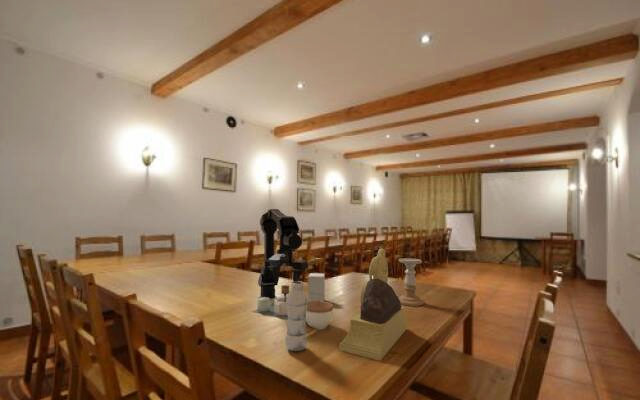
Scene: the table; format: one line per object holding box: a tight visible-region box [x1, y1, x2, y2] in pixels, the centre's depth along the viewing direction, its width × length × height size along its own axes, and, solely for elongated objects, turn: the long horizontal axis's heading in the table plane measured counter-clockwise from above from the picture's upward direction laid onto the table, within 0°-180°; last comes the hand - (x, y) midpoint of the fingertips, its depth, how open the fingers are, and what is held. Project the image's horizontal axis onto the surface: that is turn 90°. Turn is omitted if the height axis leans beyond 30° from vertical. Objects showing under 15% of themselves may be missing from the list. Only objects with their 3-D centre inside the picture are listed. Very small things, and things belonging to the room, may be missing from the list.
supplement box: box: [307, 272, 326, 302], centre depth 144 cm, size 7×7×13 cm
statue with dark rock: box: [338, 247, 407, 361], centre depth 102 cm, size 28×13×30 cm, turn 149°
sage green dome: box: [256, 296, 271, 314], centre depth 127 cm, size 5×5×5 cm
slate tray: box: [251, 302, 288, 321], centre depth 127 cm, size 22×16×1 cm
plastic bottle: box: [284, 280, 308, 352], centre depth 93 cm, size 6×7×20 cm
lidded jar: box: [306, 300, 334, 331], centre depth 112 cm, size 11×11×9 cm
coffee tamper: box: [280, 284, 290, 302], centre depth 126 cm, size 6×6×9 cm
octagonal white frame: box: [273, 296, 288, 316], centre depth 125 cm, size 8×10×5 cm
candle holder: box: [397, 257, 425, 307], centre depth 144 cm, size 12×12×20 cm
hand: (285, 284), depth 126 cm, fingers open, 9 cm apart
